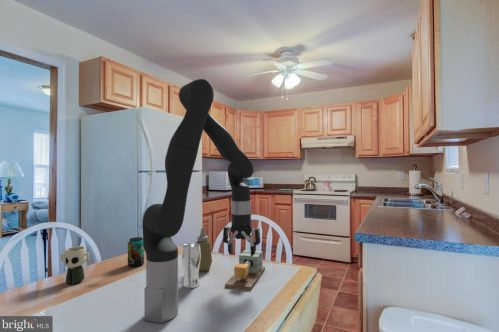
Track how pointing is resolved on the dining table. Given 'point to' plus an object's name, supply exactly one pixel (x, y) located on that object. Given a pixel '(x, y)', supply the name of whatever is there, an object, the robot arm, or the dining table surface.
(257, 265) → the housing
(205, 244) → the squeeze bottle
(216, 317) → the dining table surface
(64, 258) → the character mug
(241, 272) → the shaft
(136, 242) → the beverage can
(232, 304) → the dining table surface
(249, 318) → the dining table surface
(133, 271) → the dining table surface
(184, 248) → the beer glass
